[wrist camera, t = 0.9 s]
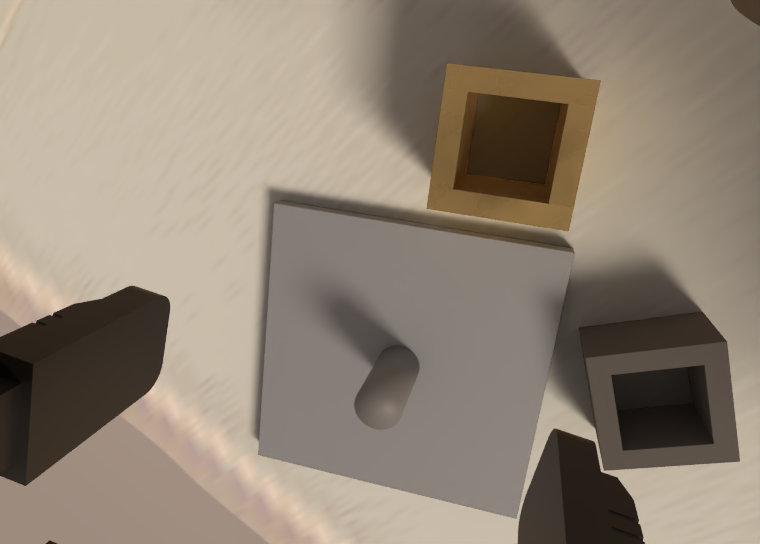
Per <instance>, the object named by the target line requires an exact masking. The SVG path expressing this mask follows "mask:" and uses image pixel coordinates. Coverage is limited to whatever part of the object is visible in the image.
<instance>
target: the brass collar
mask: <svg viewBox="0 0 760 544" xmlns="http://www.w3.org/2000/svg"><path fill="white" fill-rule="evenodd" d="M600 82H601V81H600V80H591V79H582V78H574V77H565V76H556V75H547V74H538V73H529V72H520V71H511V70H503V69H494V68H485V67H476V66H467V65H458V64H449V63H447V67H446V74H445V81H444V88H443V96H442V103H441V110H440V117H439V124H438V131H437V138H436V146H435V153H434V160H433V167H432V174H431V181H430V188H429V196H428V203H427V209H432V210H438V211H444V212H451V213H457V214H463V215H469V216H476V217H482V218H488V219H495V220H501V221H507V222H514V223H520V224H526V225H533V226H539V227H545V228H552V229H558V230H564V231H569V227H570V222H571V218H572V213H573V208H574V204H575V199H576V194H577V189H578V185H579V180H580V175H581V171H582V166H583V161H584V157H585V152H586V147H587V143H588V138H589V133H590V128H591V124H592V119H593V114H594V110H595V105H596V100H597V96H598V91H599V86H600ZM479 93H481V94H490V95H498V96H506V97H514V98H523V99H531V100H539V101H548V102H556V103H561V105H560V110H559V116H558V121H557V126H556V131H555V136H554V141H553V146H552V151H551V156H550V161H549V166H548V172H547V177H546V182H545V185H544V184H537V183H530V182H523V181H516V180H509V179H502V178H496V177H489V176H482V175H475V174H468V173H466V172H467V165H468V159H469V153H470V146H471V140H472V134H473V127H474V121H475V114H476V108H477V102H478V95H479Z"/></svg>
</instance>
